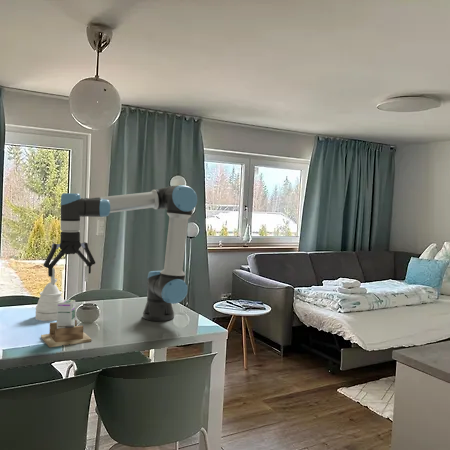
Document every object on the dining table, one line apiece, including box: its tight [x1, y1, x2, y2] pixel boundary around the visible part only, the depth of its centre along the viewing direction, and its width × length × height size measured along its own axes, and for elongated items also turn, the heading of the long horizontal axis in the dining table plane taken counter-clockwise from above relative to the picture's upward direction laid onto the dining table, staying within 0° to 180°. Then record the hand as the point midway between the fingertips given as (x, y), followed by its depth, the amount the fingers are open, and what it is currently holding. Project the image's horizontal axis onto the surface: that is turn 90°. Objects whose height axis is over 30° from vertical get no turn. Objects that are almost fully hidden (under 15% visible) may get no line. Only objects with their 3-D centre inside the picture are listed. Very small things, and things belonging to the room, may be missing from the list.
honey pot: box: [35, 278, 64, 322], centre depth 205 cm, size 13×13×18 cm
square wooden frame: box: [40, 319, 93, 348], centre depth 174 cm, size 16×14×7 cm
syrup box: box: [56, 299, 76, 329], centre depth 174 cm, size 6×6×14 cm
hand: (70, 283), depth 177 cm, fingers open, 13 cm apart
